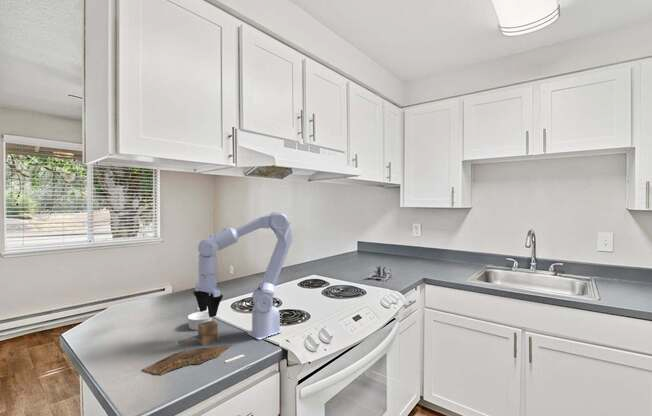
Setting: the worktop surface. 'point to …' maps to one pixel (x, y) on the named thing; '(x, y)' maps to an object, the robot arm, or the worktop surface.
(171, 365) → the wooden fragment
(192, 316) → the ramekin
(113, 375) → the worktop surface
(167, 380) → the worktop surface
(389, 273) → the bike brake
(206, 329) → the mallet
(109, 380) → the worktop surface
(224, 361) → the strip
